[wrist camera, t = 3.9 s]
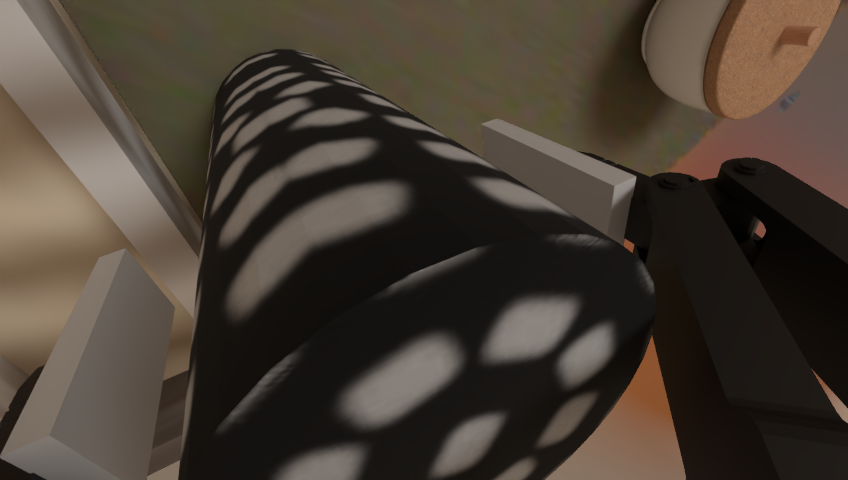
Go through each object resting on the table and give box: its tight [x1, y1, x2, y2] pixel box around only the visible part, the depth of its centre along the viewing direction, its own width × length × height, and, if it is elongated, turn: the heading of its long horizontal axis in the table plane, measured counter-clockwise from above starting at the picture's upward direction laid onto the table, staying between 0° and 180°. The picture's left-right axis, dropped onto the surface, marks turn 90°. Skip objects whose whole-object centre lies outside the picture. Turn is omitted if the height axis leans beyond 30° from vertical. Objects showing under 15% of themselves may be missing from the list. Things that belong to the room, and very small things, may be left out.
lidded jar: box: [641, 0, 841, 120], centre depth 26 cm, size 11×11×9 cm
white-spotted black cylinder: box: [178, 49, 657, 480], centre depth 14 cm, size 8×8×20 cm
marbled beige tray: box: [0, 0, 203, 476], centre depth 17 cm, size 26×14×6 cm, turn 10°
